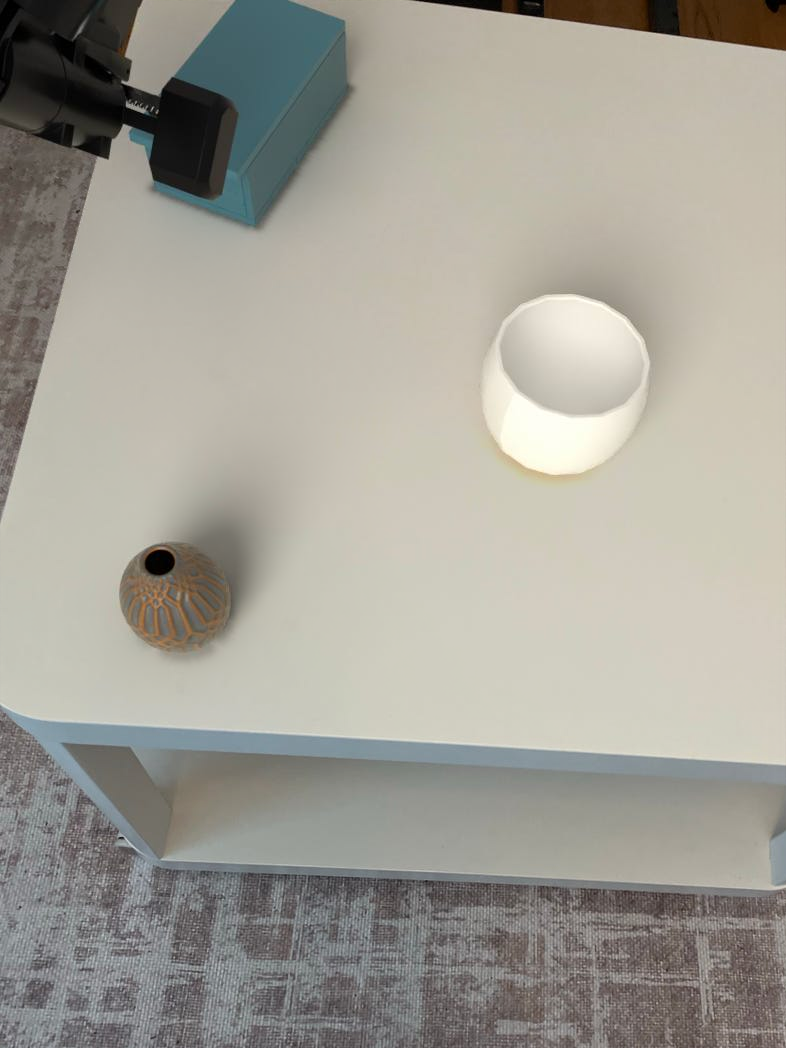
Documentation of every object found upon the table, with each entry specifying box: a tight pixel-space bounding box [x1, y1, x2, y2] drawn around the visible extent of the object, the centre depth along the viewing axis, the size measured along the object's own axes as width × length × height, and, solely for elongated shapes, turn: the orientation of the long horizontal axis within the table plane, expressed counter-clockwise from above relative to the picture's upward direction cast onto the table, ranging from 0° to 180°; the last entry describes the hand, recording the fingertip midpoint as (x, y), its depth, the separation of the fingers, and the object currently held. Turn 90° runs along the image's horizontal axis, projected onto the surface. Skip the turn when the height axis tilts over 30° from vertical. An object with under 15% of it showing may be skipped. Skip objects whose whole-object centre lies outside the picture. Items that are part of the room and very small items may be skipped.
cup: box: [478, 293, 652, 476], centre depth 68 cm, size 12×12×10 cm
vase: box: [118, 541, 232, 654], centre depth 59 cm, size 7×7×9 cm
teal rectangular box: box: [144, 30, 348, 227], centre depth 79 cm, size 19×9×6 cm, turn 159°
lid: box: [128, 0, 346, 181], centre depth 75 cm, size 21×9×4 cm, turn 159°
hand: (157, 129), depth 67 cm, fingers open, 9 cm apart
